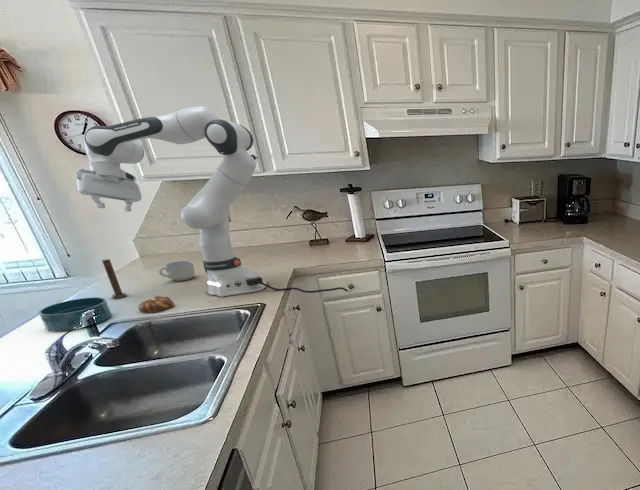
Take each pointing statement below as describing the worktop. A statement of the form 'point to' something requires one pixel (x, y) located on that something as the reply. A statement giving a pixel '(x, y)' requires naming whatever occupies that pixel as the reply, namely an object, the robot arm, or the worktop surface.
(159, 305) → the pretzel
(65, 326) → the bowl
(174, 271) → the teacup
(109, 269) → the stirring stick
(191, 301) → the worktop surface
